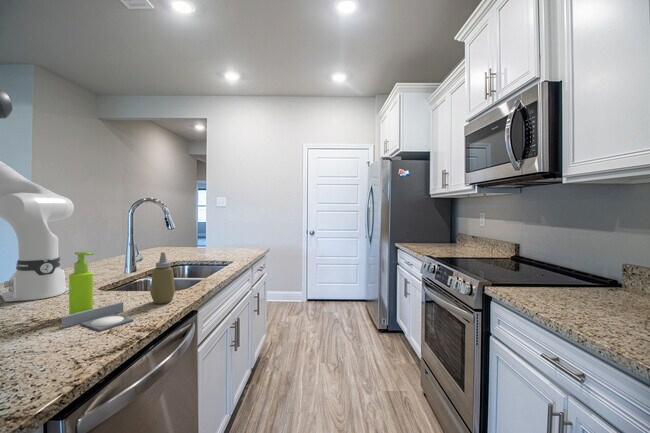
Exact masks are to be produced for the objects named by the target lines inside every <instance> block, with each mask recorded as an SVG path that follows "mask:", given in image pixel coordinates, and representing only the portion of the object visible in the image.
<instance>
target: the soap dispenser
mask: <svg viewBox="0 0 650 433" xmlns="http://www.w3.org/2000/svg"><path fill="white" fill-rule="evenodd" d="M74 255H77V261H76V262H73V264H74V267H73V269H74V271H73V273H69V275H68V287H69V290H68V297H69V298H68V301H69V302H68V312H69V313H68V315H70V314H74V313H78V312H82V311H86V310H90V309H94V272H93V271H89V262H88V261H86V260H85V259H86V257H85V256H93V255H95V253H94V252H92V251H78V252H74Z"/></svg>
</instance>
